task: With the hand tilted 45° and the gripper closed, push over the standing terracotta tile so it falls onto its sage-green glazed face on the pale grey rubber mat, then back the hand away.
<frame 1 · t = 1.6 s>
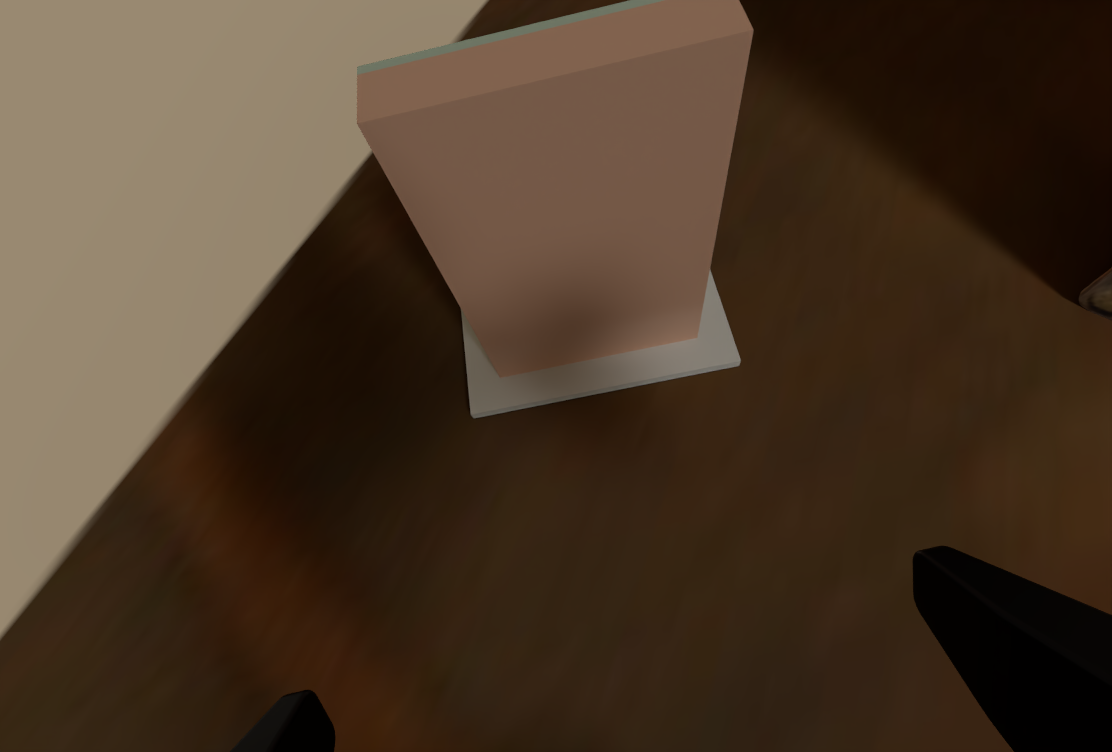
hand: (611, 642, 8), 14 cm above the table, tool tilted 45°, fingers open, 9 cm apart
grey mat: (571, 235, 29), on the table
terracotta tile: (593, 338, 25), resting on grey mat
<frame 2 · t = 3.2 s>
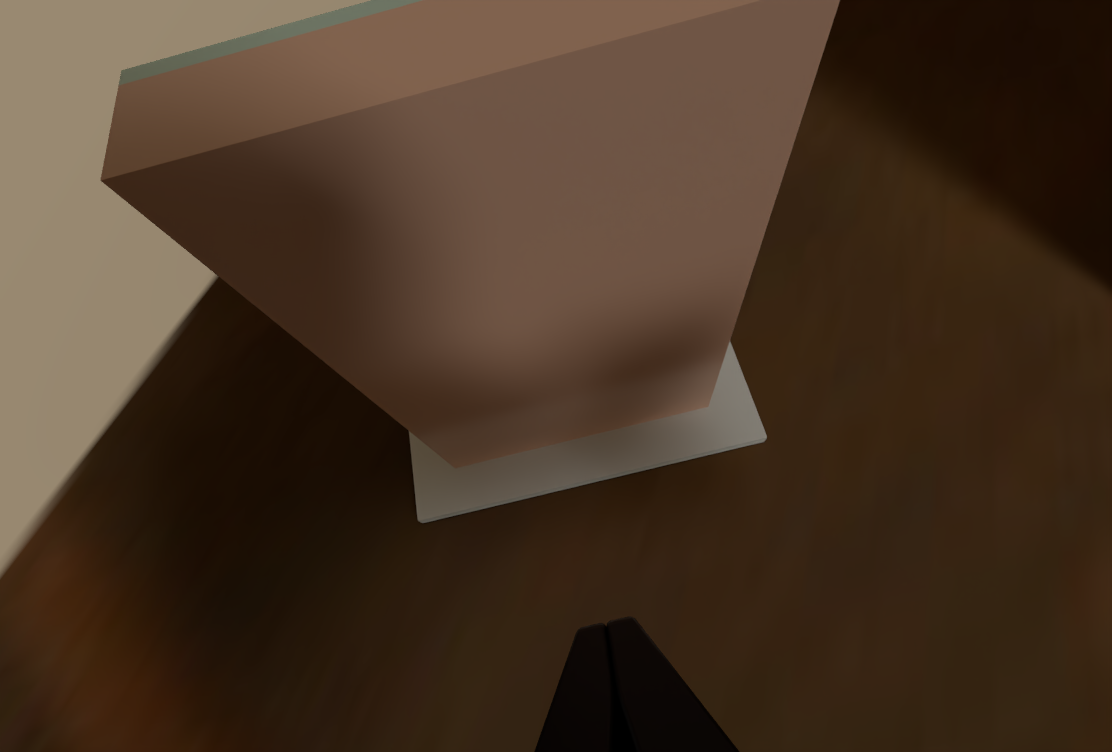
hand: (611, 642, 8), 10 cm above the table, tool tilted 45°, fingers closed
grey mat: (541, 270, 23), on the table
terracotta tile: (574, 411, 20), resting on grey mat
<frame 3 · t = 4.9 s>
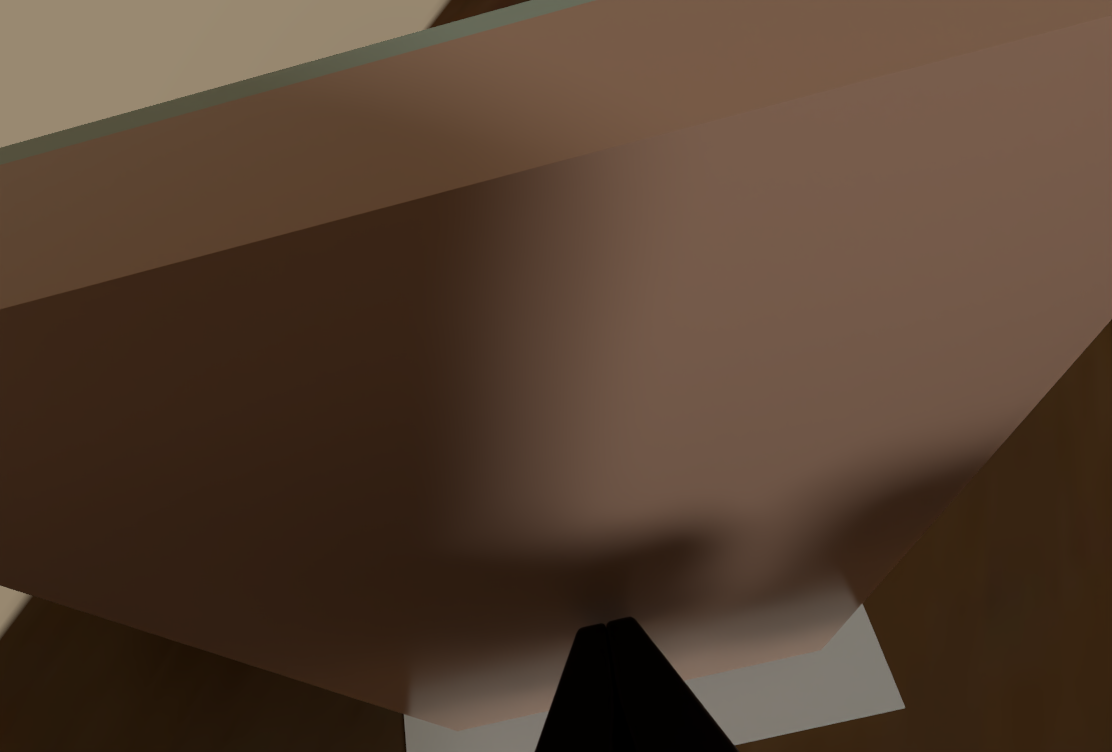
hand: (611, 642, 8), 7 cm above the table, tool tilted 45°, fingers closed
grey mat: (574, 421, 17), on the table
terracotta tile: (626, 647, 14), point 1 cm above the table, tilted 14°, touching grey mat
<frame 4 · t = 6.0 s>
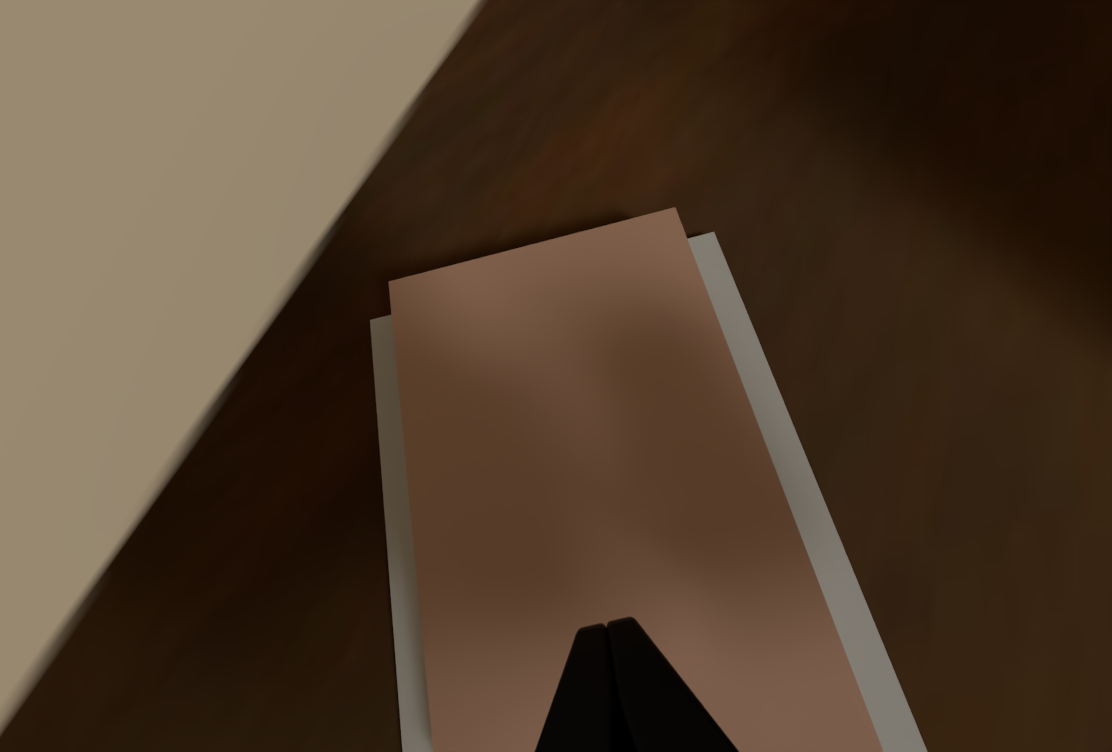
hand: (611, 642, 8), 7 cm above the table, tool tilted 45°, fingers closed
grey mat: (603, 548, 15), on the table
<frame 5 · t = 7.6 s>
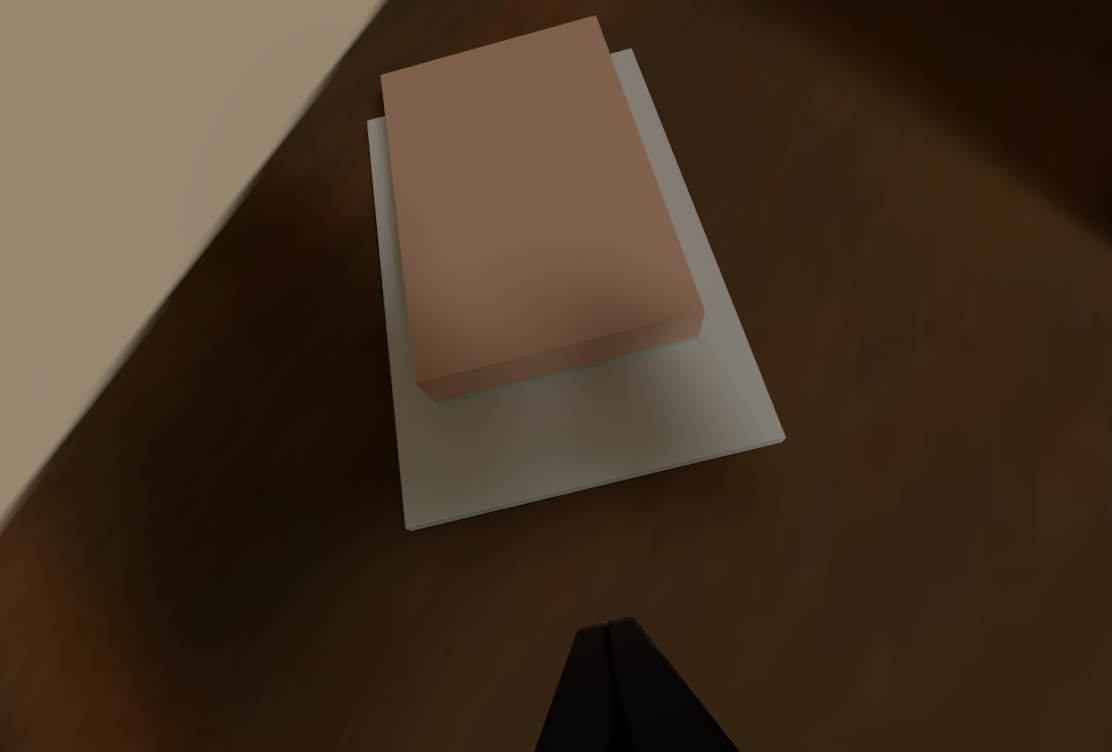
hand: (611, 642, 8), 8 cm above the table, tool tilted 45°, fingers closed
grey mat: (539, 257, 21), on the table
terracotta tile: (562, 361, 18), point 1 cm above the table, tilted 90°, touching grey mat
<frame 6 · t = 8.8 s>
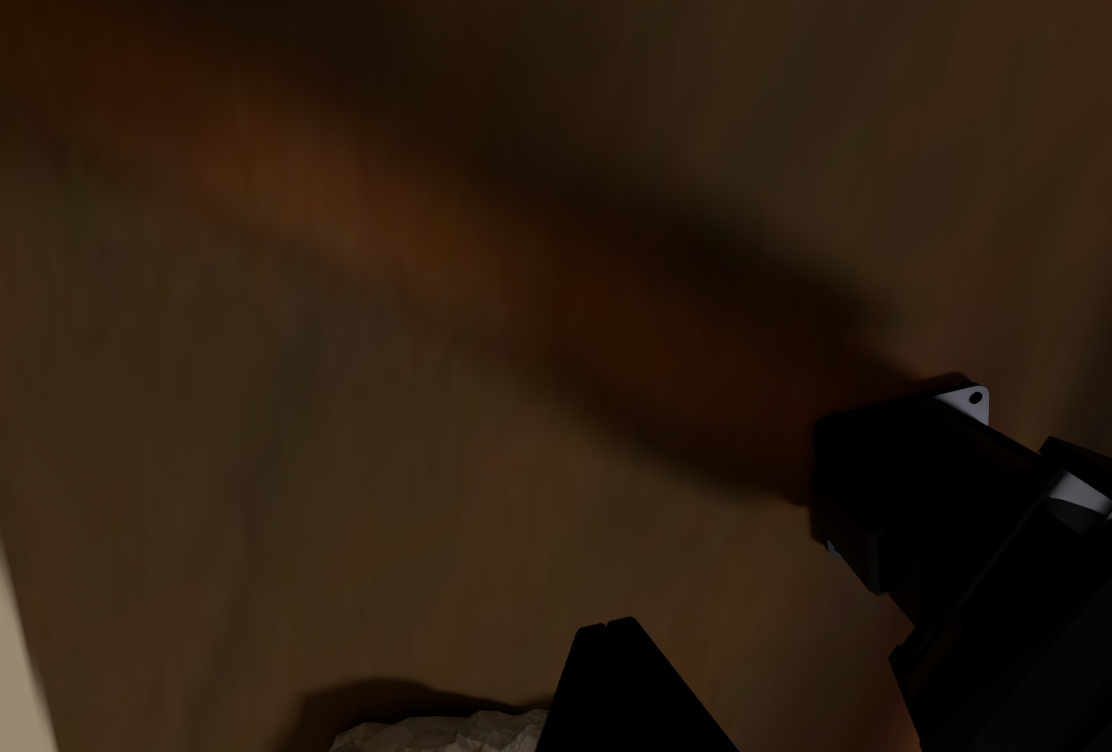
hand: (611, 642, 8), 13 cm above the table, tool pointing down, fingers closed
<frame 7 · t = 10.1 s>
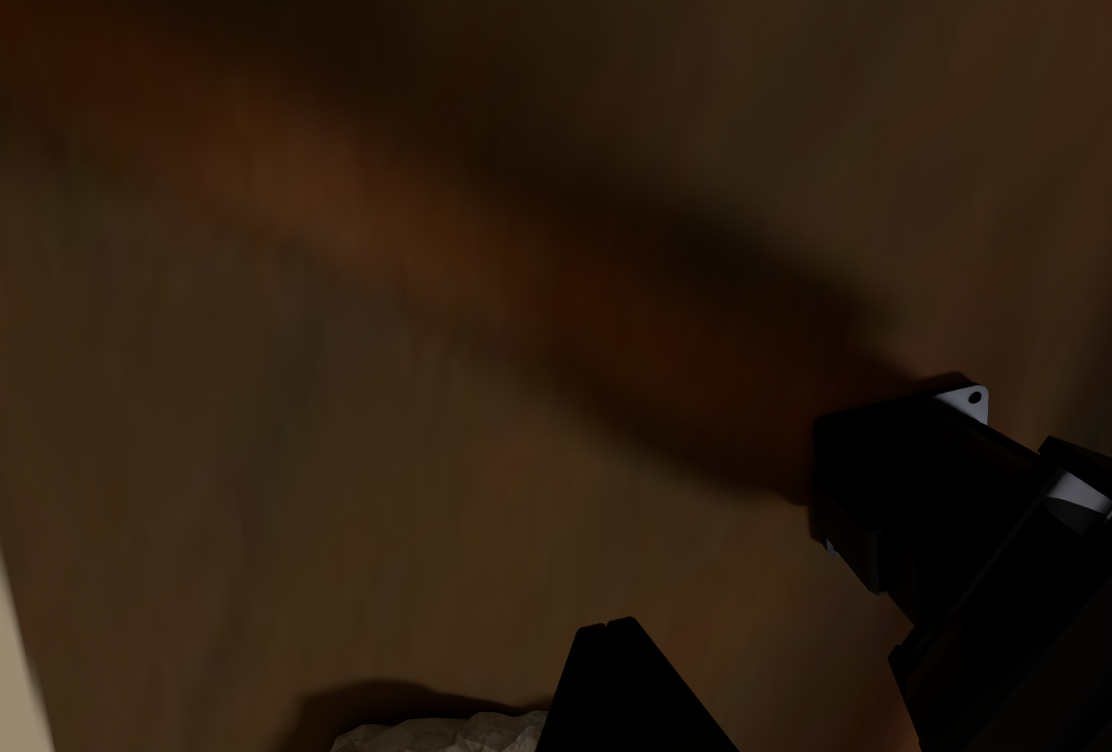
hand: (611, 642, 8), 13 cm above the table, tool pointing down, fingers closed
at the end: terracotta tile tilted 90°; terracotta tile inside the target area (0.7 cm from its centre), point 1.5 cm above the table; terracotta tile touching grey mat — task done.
